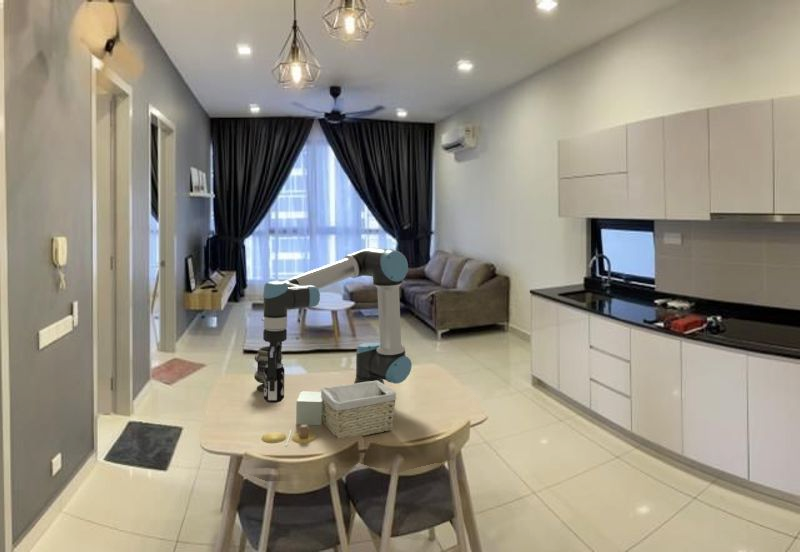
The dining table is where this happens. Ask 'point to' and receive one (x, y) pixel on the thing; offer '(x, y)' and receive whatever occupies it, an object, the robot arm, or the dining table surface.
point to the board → (298, 437)
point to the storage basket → (358, 408)
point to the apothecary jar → (261, 366)
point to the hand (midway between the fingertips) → (274, 395)
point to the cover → (309, 408)
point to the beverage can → (279, 384)
